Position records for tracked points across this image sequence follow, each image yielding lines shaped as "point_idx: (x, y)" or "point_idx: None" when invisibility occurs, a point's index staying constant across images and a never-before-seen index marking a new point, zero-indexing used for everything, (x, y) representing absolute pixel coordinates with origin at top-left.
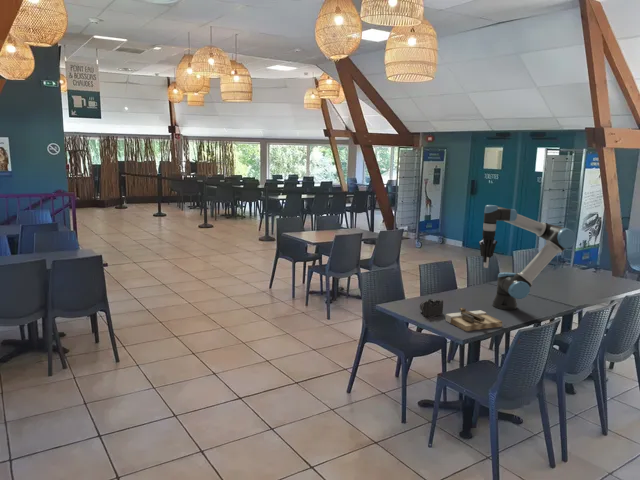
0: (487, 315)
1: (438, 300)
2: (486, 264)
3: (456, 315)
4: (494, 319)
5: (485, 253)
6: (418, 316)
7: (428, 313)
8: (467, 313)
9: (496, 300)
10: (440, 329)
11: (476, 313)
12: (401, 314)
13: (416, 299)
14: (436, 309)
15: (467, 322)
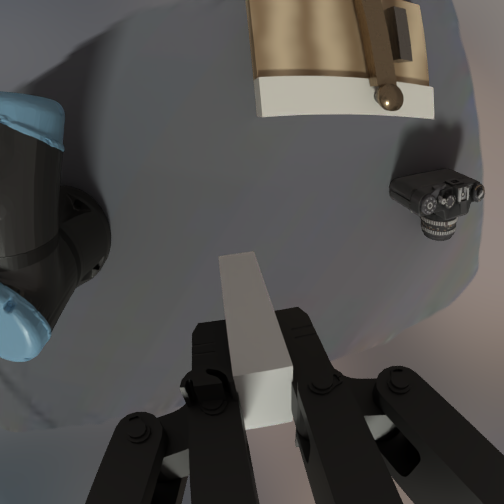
0: (263, 60)
1: (442, 199)
2: (262, 281)
3: (410, 89)
4: (266, 9)
5: (370, 452)
6: None
7: (452, 171)
8: (391, 55)
9: (96, 243)
10: (464, 59)
11: (316, 79)
12: (482, 211)
13: (363, 339)
14: (432, 178)
15: None
